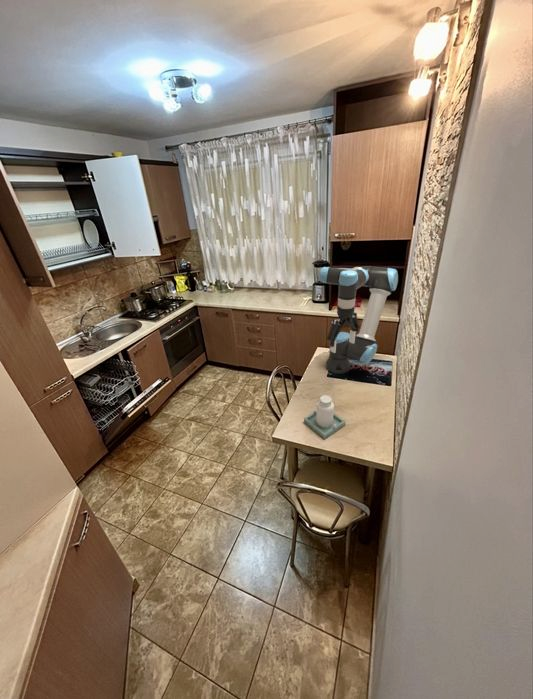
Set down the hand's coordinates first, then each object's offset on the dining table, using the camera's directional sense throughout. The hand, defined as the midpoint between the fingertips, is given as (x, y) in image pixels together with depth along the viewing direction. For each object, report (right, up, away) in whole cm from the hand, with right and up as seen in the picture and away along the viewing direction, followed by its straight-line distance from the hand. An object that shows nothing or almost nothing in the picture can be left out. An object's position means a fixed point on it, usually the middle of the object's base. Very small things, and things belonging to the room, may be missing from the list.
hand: (342, 347), depth 136 cm
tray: (-9, -37, 0) cm, 39 cm away
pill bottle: (-9, -37, 0) cm, 38 cm away
